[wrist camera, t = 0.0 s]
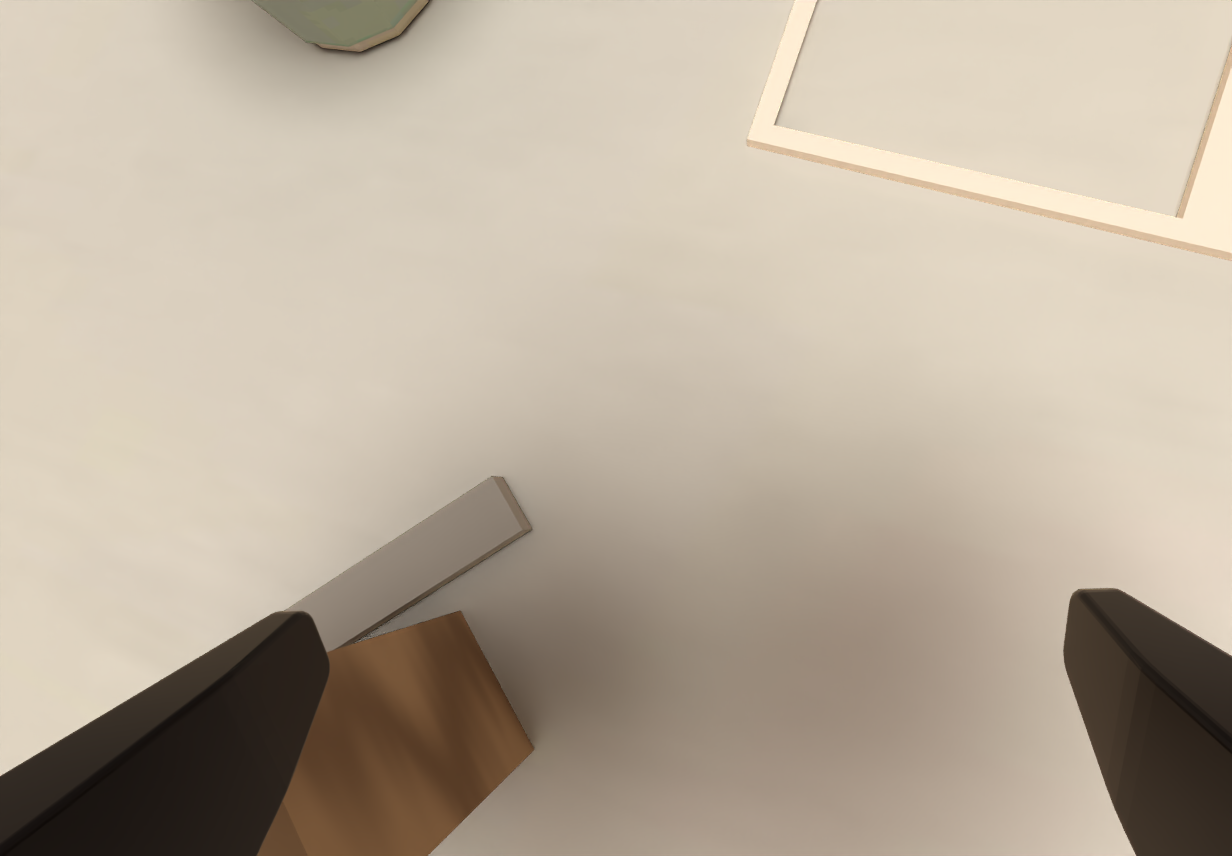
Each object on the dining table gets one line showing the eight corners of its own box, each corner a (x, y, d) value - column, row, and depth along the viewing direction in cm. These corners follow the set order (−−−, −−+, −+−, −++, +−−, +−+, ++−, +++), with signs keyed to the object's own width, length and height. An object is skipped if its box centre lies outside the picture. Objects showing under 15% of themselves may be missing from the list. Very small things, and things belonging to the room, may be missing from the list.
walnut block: (534, 749, 24) (344, 937, 13) (310, 882, 25) (-33, 1157, 14) (460, 610, 25) (228, 682, 14) (248, 743, 26) (-117, 904, 15)
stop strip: (532, 529, 25) (522, 529, 24) (157, 767, 27) (133, 777, 26) (502, 477, 25) (492, 476, 24) (134, 715, 27) (111, 722, 26)
